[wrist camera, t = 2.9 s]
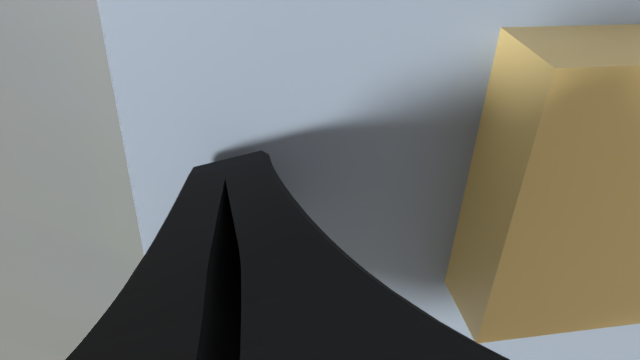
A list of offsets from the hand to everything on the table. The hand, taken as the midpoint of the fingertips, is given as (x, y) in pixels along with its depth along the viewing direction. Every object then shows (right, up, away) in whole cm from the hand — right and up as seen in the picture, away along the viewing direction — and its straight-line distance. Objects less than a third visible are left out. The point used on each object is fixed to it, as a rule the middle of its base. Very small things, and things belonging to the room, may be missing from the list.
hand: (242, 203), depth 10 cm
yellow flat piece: (+8, +1, +2) cm, 9 cm away
